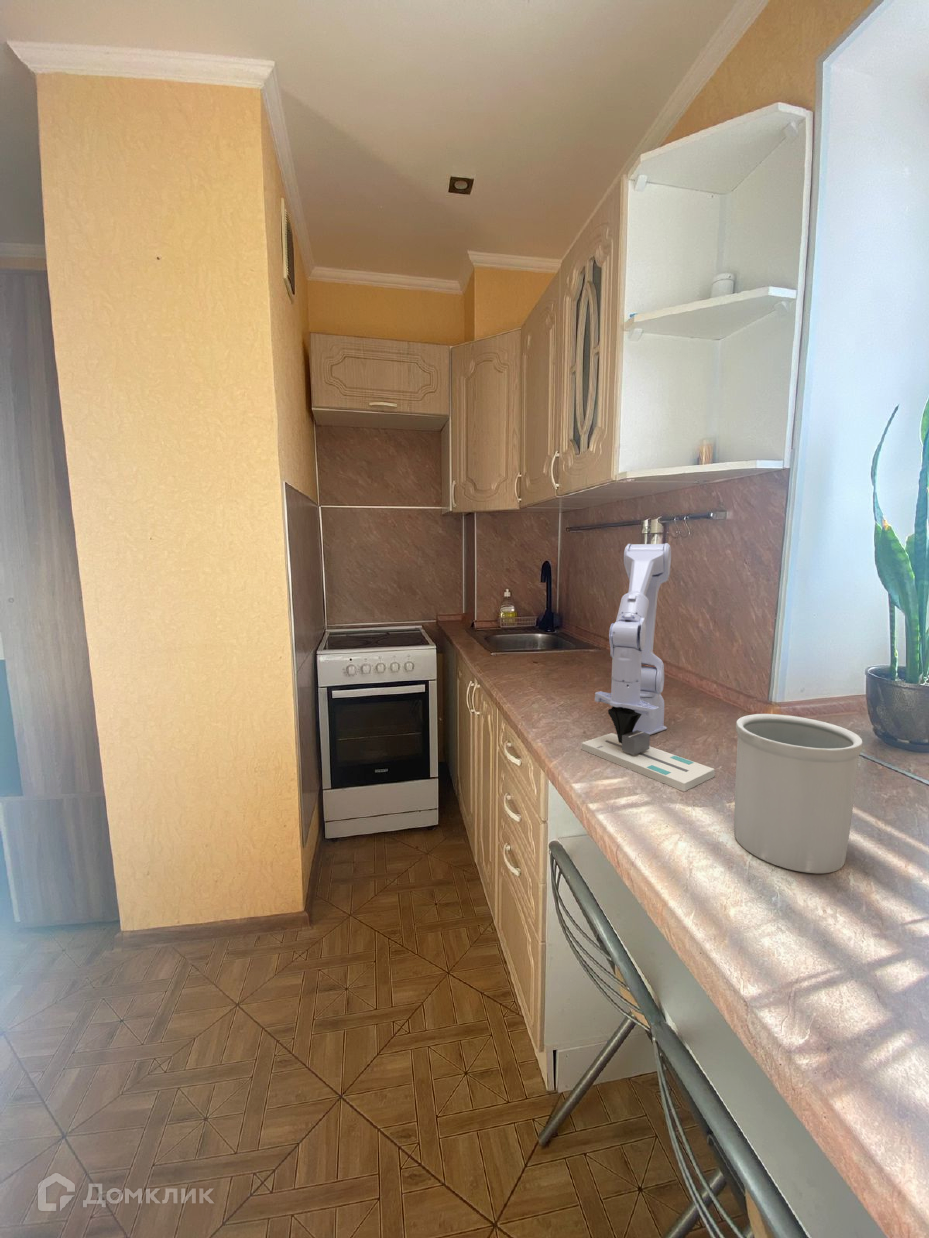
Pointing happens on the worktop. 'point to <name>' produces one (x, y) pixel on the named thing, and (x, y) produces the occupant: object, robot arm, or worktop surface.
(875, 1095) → the worktop surface
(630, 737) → the fader
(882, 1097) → the worktop surface
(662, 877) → the worktop surface
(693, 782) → the mixer panel
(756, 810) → the utensil holder
